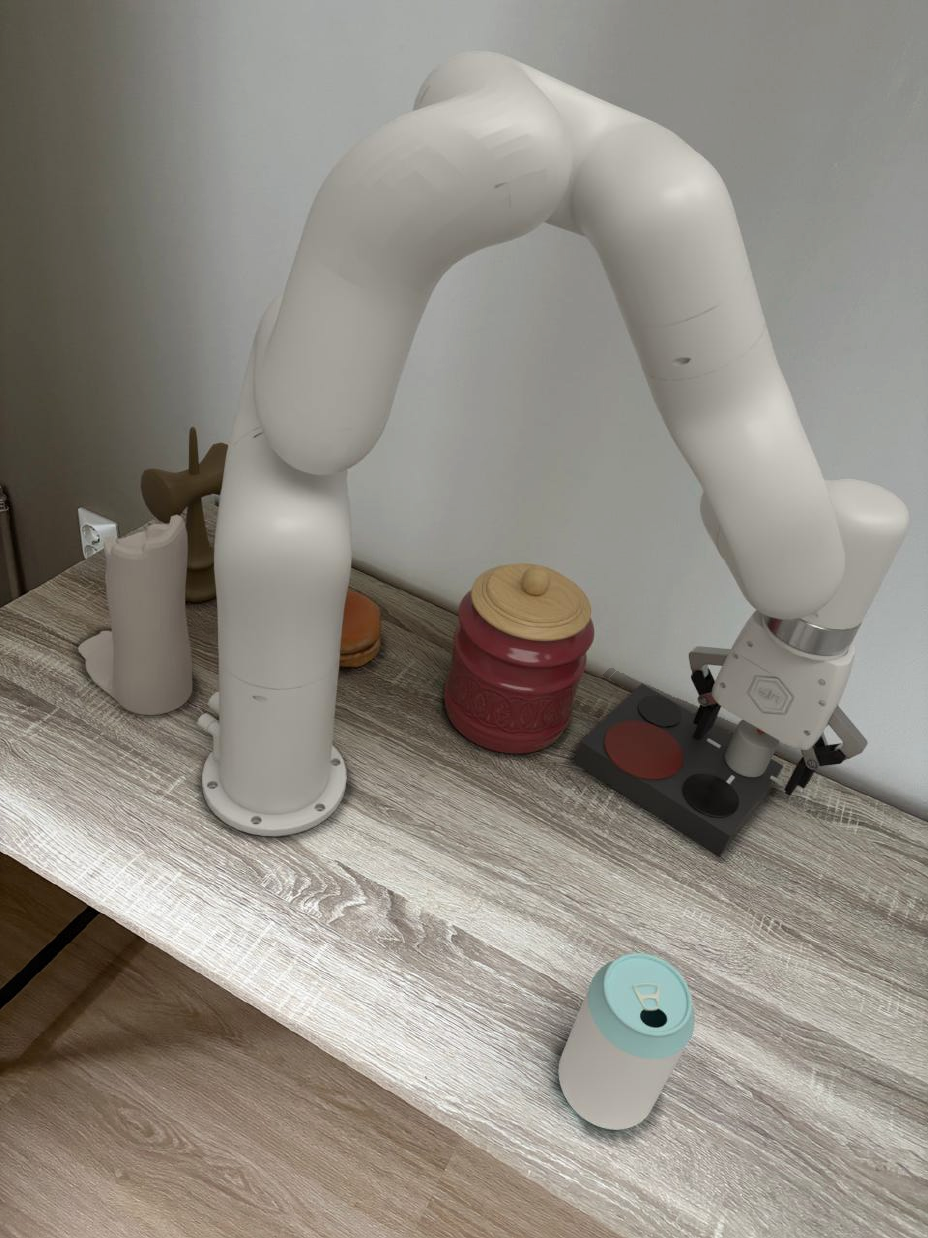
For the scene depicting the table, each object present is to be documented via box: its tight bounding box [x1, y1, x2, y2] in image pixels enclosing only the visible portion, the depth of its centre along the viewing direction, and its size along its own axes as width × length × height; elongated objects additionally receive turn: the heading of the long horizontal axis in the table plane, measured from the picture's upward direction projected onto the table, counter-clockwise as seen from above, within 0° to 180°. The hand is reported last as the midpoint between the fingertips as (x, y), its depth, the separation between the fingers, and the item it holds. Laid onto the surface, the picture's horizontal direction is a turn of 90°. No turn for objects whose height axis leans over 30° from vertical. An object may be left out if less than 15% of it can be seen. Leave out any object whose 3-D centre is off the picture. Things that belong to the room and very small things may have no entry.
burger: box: [339, 588, 382, 668], centre depth 102 cm, size 10×9×5 cm
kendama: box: [140, 426, 229, 603], centre depth 101 cm, size 6×10×20 cm, turn 139°
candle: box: [77, 515, 193, 716], centre depth 90 cm, size 7×14×20 cm, turn 51°
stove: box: [573, 683, 786, 858], centre depth 95 cm, size 17×14×3 cm
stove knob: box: [725, 719, 780, 777], centre depth 93 cm, size 4×4×4 cm
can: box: [558, 952, 696, 1131], centre depth 66 cm, size 7×7×12 cm
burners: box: [604, 696, 739, 818], centre depth 93 cm, size 14×12×1 cm
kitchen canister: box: [443, 562, 595, 754], centre depth 94 cm, size 13×13×18 cm
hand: (746, 758), depth 94 cm, fingers open, 9 cm apart
